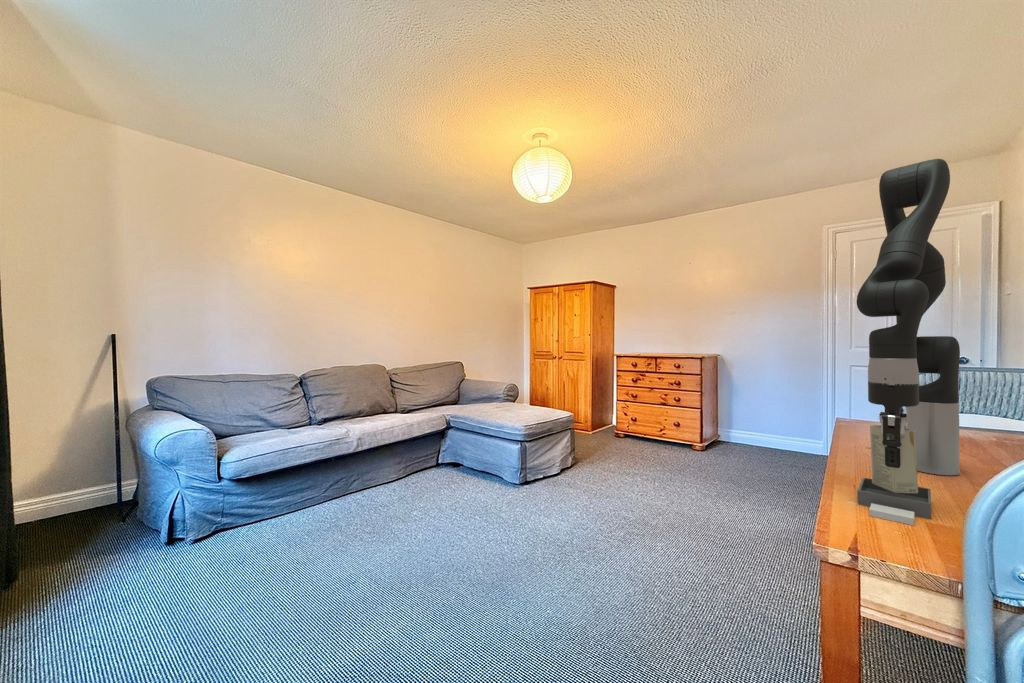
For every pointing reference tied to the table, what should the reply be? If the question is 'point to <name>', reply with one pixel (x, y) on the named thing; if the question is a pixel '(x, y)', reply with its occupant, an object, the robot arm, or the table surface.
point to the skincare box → (889, 476)
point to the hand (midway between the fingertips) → (893, 462)
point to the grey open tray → (894, 502)
